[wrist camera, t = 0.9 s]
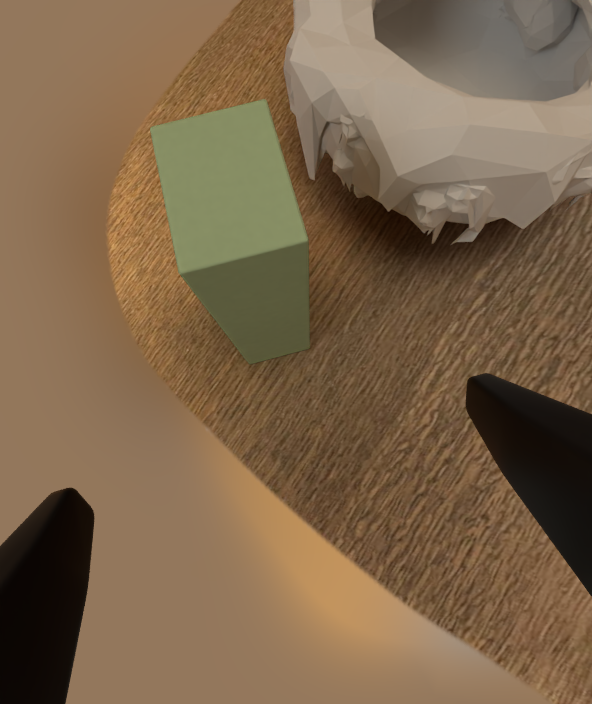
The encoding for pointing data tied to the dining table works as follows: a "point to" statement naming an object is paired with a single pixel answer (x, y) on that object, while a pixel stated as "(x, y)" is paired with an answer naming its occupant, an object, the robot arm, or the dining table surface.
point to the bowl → (447, 104)
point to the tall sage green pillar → (237, 226)
